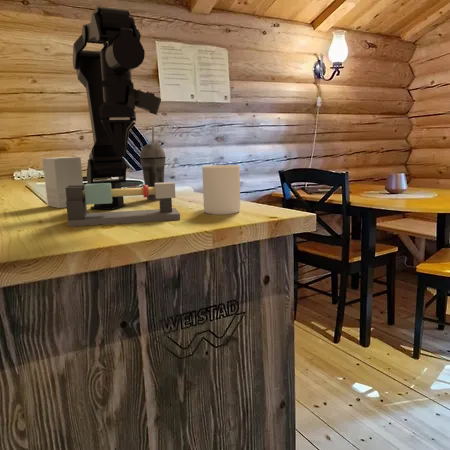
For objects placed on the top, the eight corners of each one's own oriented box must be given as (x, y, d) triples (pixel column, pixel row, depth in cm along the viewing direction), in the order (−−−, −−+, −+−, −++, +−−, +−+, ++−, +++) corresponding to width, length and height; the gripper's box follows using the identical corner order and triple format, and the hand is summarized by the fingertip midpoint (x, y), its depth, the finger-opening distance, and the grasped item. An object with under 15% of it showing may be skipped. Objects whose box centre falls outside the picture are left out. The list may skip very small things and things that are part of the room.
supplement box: (86, 205, 111) (81, 156, 109) (58, 208, 106) (53, 158, 104) (73, 202, 116) (69, 156, 114) (46, 206, 111) (41, 157, 109)
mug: (191, 209, 100) (189, 165, 98) (222, 205, 104) (221, 163, 102) (213, 216, 90) (212, 167, 88) (247, 212, 94) (246, 165, 92)
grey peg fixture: (68, 226, 82) (64, 188, 81) (73, 219, 90) (69, 184, 88) (180, 219, 87) (178, 183, 86) (175, 213, 95) (174, 180, 93)
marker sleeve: (86, 204, 84) (84, 185, 84) (87, 202, 88) (86, 184, 87) (111, 203, 85) (110, 184, 85) (112, 200, 89) (110, 182, 88)
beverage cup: (137, 200, 117) (132, 127, 113) (149, 197, 123) (145, 127, 119) (161, 201, 114) (157, 126, 110) (172, 197, 121) (168, 126, 117)
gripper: (159, 69, 76) (163, 156, 79) (156, 82, 94) (160, 153, 97) (95, 69, 74) (102, 158, 77) (105, 82, 92) (110, 155, 95)
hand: (122, 156), depth 87 cm, fingers open, 9 cm apart
